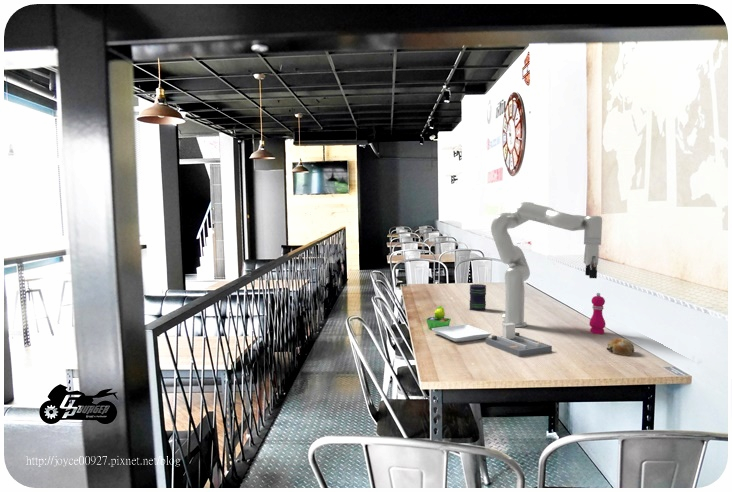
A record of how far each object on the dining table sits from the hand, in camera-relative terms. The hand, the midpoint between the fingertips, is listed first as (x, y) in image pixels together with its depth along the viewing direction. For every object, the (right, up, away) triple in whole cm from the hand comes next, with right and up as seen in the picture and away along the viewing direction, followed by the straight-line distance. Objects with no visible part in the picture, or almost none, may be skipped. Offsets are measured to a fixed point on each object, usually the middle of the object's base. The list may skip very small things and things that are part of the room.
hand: (590, 276), depth 232 cm
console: (-41, -30, -19) cm, 55 cm away
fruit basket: (-71, -28, +16) cm, 78 cm away
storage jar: (-40, -24, +64) cm, 79 cm away
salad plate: (-63, -30, 0) cm, 70 cm away
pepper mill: (+6, -29, +7) cm, 30 cm away
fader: (-44, -27, -14) cm, 53 cm away
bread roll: (0, -31, -26) cm, 41 cm away
